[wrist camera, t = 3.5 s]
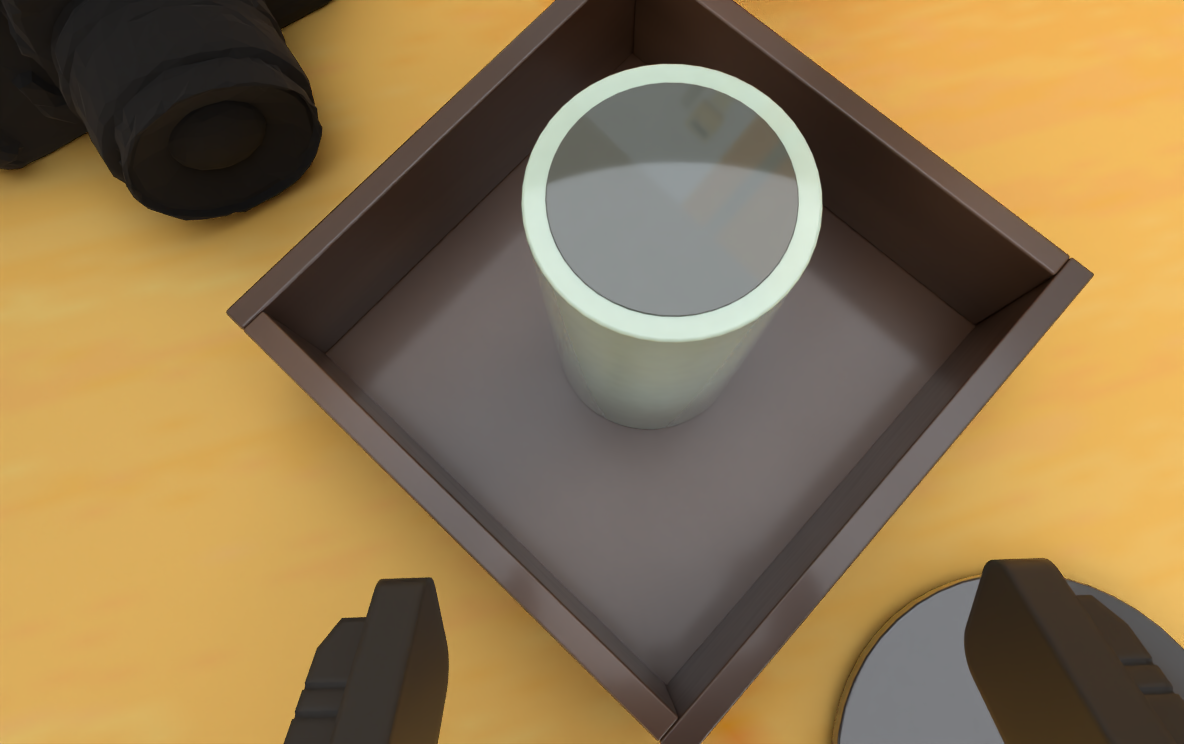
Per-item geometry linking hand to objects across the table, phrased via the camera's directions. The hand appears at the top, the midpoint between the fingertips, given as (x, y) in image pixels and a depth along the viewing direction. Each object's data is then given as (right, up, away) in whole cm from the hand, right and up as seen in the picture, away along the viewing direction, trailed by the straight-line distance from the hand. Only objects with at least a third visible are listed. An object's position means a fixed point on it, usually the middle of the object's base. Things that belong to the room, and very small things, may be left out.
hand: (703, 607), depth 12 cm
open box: (0, +4, +13) cm, 14 cm away
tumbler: (0, +4, +12) cm, 13 cm away
